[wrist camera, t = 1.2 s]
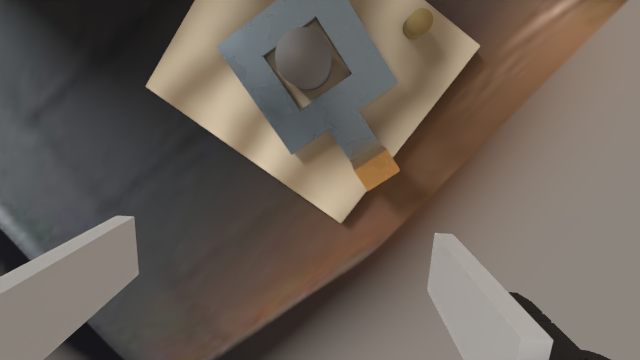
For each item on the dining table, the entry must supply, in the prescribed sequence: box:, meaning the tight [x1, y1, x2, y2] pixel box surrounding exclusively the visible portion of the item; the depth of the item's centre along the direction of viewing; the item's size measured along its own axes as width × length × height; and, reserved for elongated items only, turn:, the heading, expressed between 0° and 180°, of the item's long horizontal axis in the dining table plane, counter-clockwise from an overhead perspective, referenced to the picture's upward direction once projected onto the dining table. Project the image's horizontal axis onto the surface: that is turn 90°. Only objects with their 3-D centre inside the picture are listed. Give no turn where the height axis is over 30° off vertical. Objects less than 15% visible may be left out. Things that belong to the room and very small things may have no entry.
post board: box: [145, 0, 480, 223], centre depth 27 cm, size 22×20×7 cm
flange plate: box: [216, 0, 400, 191], centre depth 27 cm, size 16×11×5 cm, turn 34°
